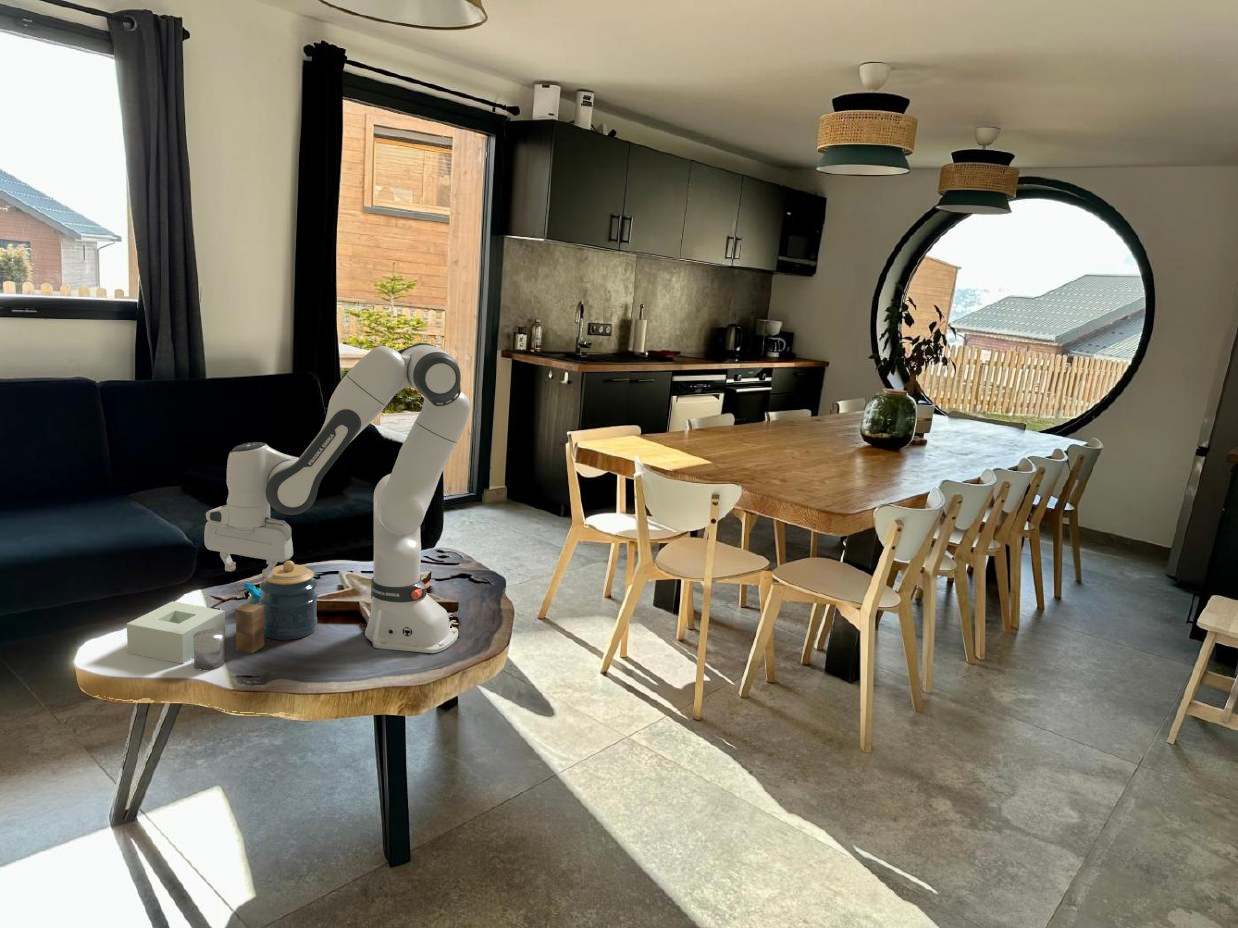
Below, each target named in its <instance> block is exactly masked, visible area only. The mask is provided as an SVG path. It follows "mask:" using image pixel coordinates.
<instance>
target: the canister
mask: <svg viewBox="0 0 1238 928" xmlns="http://www.w3.org/2000/svg"><path fill="white" fill-rule="evenodd" d="M314 576H315V573H314V571H313V570H312V569H309V568H307V567H306V566H304V565H302V564H301V565H300V564H295V562H294V561H292V560H286V561H284V562H283V564H280V565H276V566H275V567H274V569H273V576H272V577H270V578H265V577H263V579H264V580H263V581H261V582H260V584H259V589H260V590H261V591H262V595H261V597H260V602H261V603H260V602H259V603H260V605H262V606H264V637H265V638H268V639H273V640H283V641H284V640H285V641H288V640H296V639H297V640H298V639H301V638H304V637H308V636H310V635H311V634H312V633H314V632H315V631H316V629H317V625H318V616H317V606H318V605H317V604H318V603H317V599H318V594H317V592H316V588H317V587H318V581H317V579H316V578H314Z"/></svg>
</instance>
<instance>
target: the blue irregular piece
mask: <svg viewBox="0 0 1238 928" xmlns="http://www.w3.org/2000/svg"><path fill="white" fill-rule="evenodd" d="M243 586H244V588H245V591H247V592H248V593H250V595H251V598H250V599H249V600H248V601H247V602H246V603H245V604H247V603H251V604H257V605H259V603H260V604H261V602H260V597H261V595H262V590H261V589H260V587H256V586H255V585H254V584H251V583H250V582H248V581H247V582H246V583H244V584H243Z"/></svg>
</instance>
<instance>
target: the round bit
mask: <svg viewBox="0 0 1238 928" xmlns="http://www.w3.org/2000/svg"><path fill="white" fill-rule="evenodd" d="M193 643H194V658H193V667H194V666H195V667H194V668H195V669H196V668H197V669H196V670H198V669H201V670H200V671H202V670H208V671H214V670H218V669H220V668H221V667H223V666H224V665H225V639H224V632H223V631H221V630H218V629H206V630H202V631H199V632H197V633H195V634H194V635H193Z"/></svg>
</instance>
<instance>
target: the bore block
mask: <svg viewBox="0 0 1238 928" xmlns="http://www.w3.org/2000/svg"><path fill="white" fill-rule="evenodd" d="M206 629H218V630H221V631H223V632H224V640H225V639H226V611H225V610H222V609H216V608H211V607H206V606H201V605H194V604H189V603H184V602H178V601H175V600H174V601H173V600H172V601H170V602H168V603H166V604H163V605H162V606H160V607H158V608H156V609H154V610H152V611H150V612H148V613H145V614H143V615H141V616H139V617H138V618H136V619H134V620H131V621H129V622H127V623H126V639H127V641H126V642H127V643H126V644H127V653H128V654H131V655H135V656H136V655H137V656H141V657H147V658H151V659H156V660H162V661H167V662H172V663H177V664H181V663H182V664H181V665H183V664H185V662H186V663H187V662H188V661H190V659H191V658H192V659H194V643H193V635H194V634H195V633H197V632H199V631H202V630H206ZM192 659H191V660H192Z"/></svg>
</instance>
